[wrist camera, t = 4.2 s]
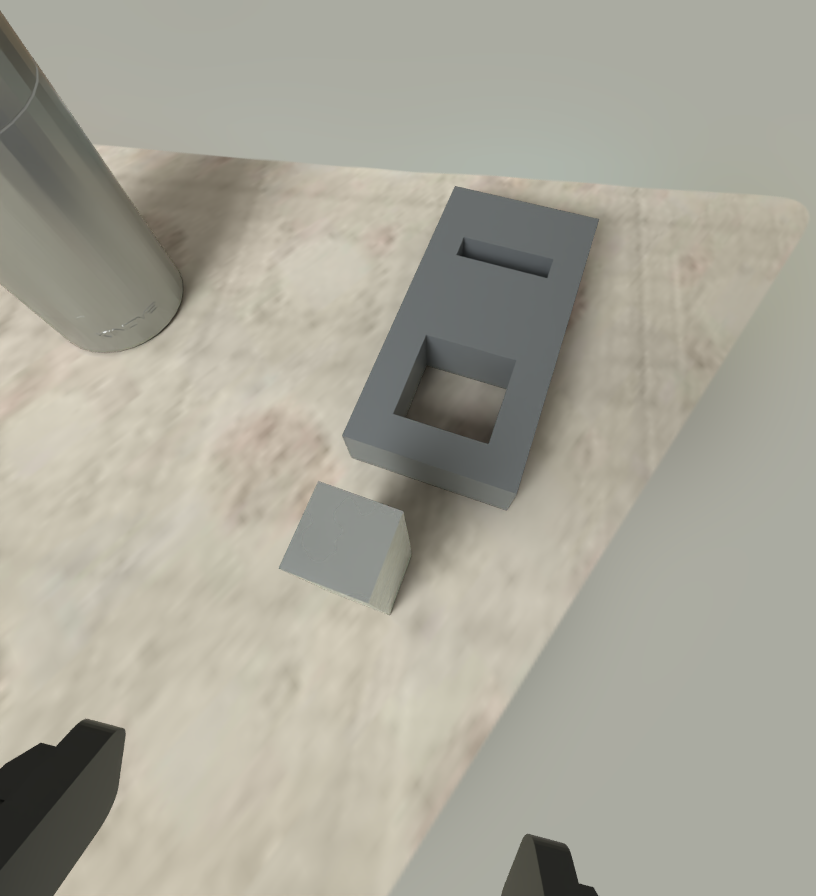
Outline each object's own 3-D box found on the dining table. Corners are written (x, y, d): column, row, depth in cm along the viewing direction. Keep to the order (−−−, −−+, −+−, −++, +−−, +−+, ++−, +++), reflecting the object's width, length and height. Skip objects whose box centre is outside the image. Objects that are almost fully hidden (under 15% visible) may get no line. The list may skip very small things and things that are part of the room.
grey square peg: (389, 615, 26) (368, 603, 17) (330, 592, 27) (278, 568, 18) (411, 553, 28) (403, 511, 18) (354, 532, 28) (318, 481, 19)
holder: (506, 510, 28) (516, 493, 25) (351, 457, 30) (342, 435, 27) (583, 257, 35) (599, 219, 32) (452, 226, 37) (454, 186, 33)
